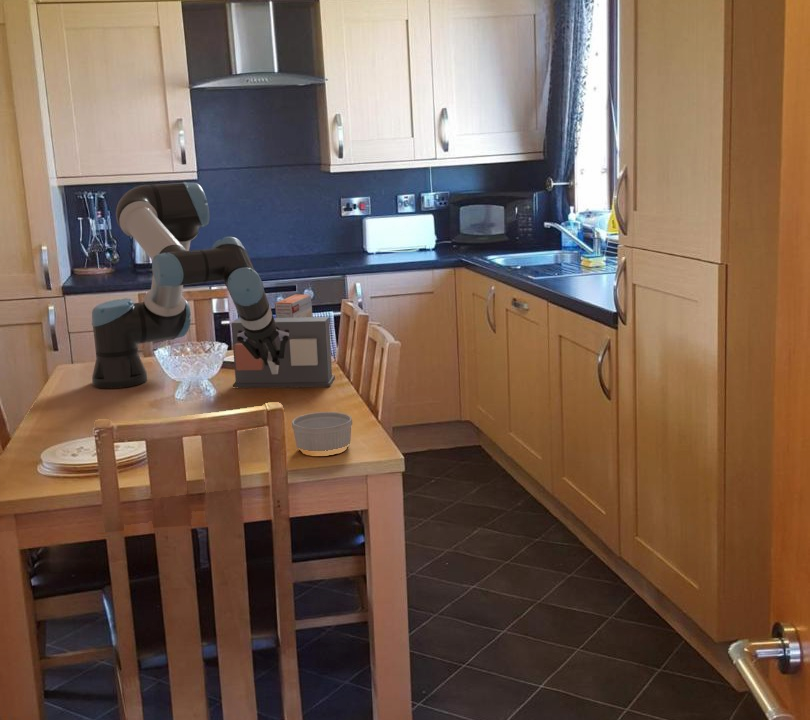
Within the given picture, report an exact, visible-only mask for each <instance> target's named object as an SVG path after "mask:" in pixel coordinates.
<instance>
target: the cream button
mask: <svg viewBox="0 0 810 720" xmlns="http://www.w3.org/2000/svg"><path fill="white" fill-rule="evenodd" d="M290 355H291V366H305V365H317V364H318V355H317V338H314V339H290Z"/></svg>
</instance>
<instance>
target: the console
mask: <svg viewBox="0 0 810 720" xmlns="http://www.w3.org/2000/svg"><path fill="white" fill-rule="evenodd" d="M274 320H275V323H276V326H277V327H278V328H279V330H281V331H284V330H289V340H288V341H287V342H286V344H285V353H284V358H283V359H281V358H280V365H279V369H278V374H272V373H271V370H270V367H269V365H265V363H264V361H263V366H264V368H263V369H262V370H236V360H235V347H234V345H235V344H236V343H240V342H238V341H237V335H238V331H244V328H243V326H242V323H241V321H240V318H236V319H235V320H232V321H231V323H230V324H231V325H230V326H231V338H232V339H231V341H232V351H233V364H234V376H235V377H234V378H235V381H234V382H233V384H232V388H233V387H238V388H237V389H261V388H262V389H266V388H271V389H272V388H273V389H274V388H276V389H277V388H280V389H281V388H330V387H331V386H332V384H333V382H334V380H335V379H336V376H335V375H334V374H333V367H332V353H331V352H332V350H331V331H330V316H319V317H318V316H316V317H315V316H314V317H313V316H312V317H302V318H276V317H274ZM314 338H317V355H318V364H317V365H305V366H291V355H290V339H314ZM274 340H275V343H276V346H277V349H278V350H280V344H281V340H280V338H279V336H277V337H276V338H275V339H274ZM265 344H266V343H265ZM266 347H267V349H268V352H270V351H269V348H268V346H267V345H266Z"/></svg>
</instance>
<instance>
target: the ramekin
mask: <svg viewBox="0 0 810 720" xmlns="http://www.w3.org/2000/svg"><path fill="white" fill-rule="evenodd" d="M352 418H353V417H352V416H351V415H349V414H347V413H344V412H336V411H321V412H320V411H318V412H311V413H306V414H302V415H299V416H297V417H295V418H294V419H292V421H291V428H292V430H293V434H294V441H295V445H296V448H297V447H298V448H300V449H303V450H308V451H325V450H326V451H328V450H333V449H338V448H342V447H345V446H347V445H348V444H350V445H351V439H352V438H351V437H352V425H353V419H352Z"/></svg>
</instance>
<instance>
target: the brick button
mask: <svg viewBox="0 0 810 720" xmlns="http://www.w3.org/2000/svg"><path fill="white" fill-rule="evenodd" d="M254 343H255V342H254ZM234 347H235V360H236V370H262V369H263V368H264V366H263V360H262V358H259V359H255V358H254V357H253V356H252V355H251V353H250V352H249V351H248V350H247V349H246V347H245V346H244V345H243V344H242V343H236V344H235V345H234Z"/></svg>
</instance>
